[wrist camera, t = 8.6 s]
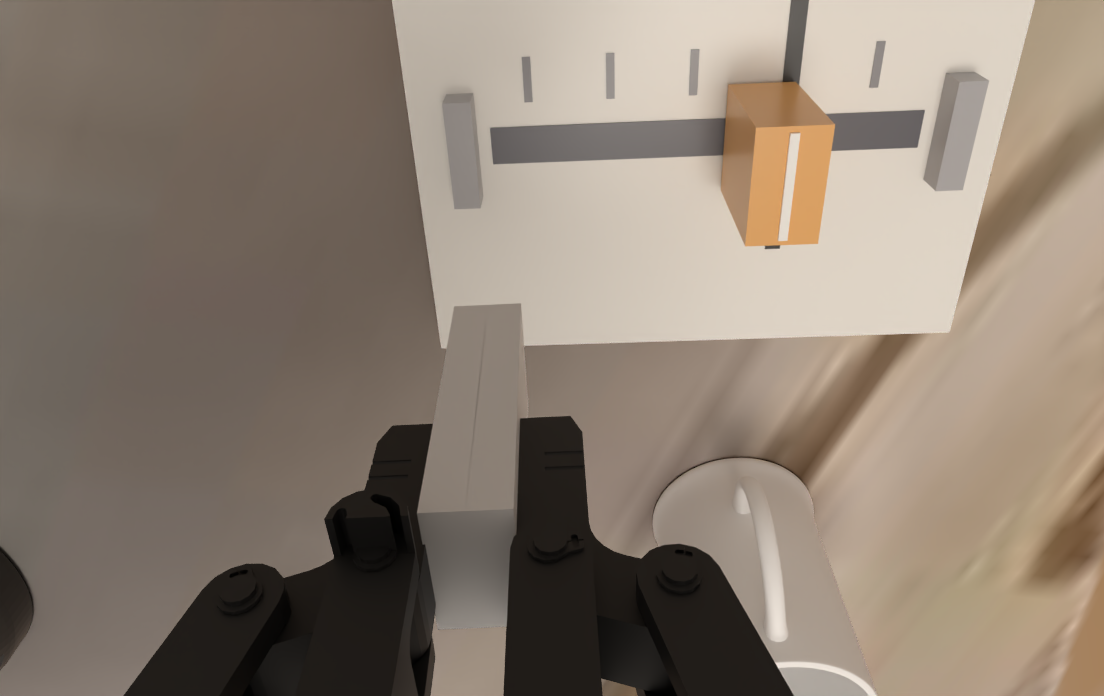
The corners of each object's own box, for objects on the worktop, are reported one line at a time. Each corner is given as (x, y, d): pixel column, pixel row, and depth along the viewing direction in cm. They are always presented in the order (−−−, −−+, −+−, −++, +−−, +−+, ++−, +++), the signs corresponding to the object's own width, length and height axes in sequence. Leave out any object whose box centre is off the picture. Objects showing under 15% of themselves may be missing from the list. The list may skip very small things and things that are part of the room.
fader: (720, 190, 31) (745, 247, 27) (728, 84, 29) (756, 128, 25) (783, 187, 31) (818, 245, 27) (795, 81, 29) (836, 125, 25)
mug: (658, 405, 40) (690, 603, 29) (833, 403, 39) (926, 600, 29) (649, 572, 46) (673, 781, 36) (800, 570, 46) (867, 781, 36)
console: (446, 324, 37) (437, 363, 35) (394, -63, 29) (376, -52, 26) (931, 309, 36) (960, 347, 34) (1028, -94, 28) (1078, -86, 25)
